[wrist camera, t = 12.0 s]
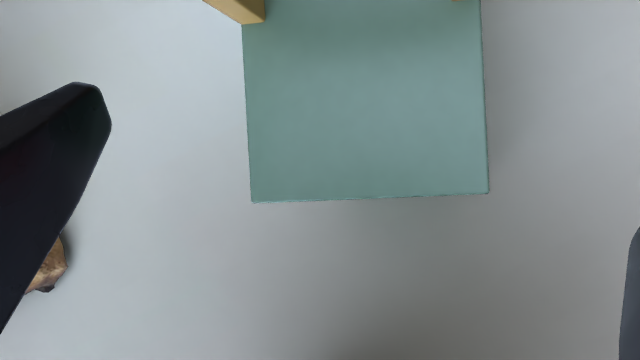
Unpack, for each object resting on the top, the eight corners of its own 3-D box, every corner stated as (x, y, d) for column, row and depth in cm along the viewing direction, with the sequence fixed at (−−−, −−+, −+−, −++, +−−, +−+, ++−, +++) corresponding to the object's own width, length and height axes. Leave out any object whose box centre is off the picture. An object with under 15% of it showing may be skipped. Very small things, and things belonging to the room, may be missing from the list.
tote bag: (476, 178, 22) (509, 216, 8) (336, 185, 24) (132, 228, 9) (464, -70, 22) (475, -522, 7) (324, -51, 23) (93, -410, 9)
